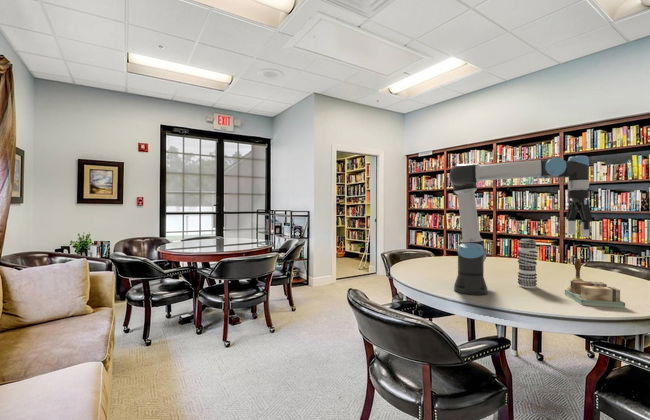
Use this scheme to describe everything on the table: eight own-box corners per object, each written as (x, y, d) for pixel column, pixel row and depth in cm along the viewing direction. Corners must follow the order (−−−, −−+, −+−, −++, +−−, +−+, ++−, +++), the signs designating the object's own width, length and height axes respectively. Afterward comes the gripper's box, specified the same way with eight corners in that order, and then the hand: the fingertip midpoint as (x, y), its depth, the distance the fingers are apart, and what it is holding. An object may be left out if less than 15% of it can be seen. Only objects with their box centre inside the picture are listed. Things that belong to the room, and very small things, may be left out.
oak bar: (585, 301, 136) (585, 287, 136) (580, 298, 140) (580, 285, 140) (620, 304, 132) (620, 289, 132) (613, 301, 137) (613, 287, 137)
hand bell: (592, 292, 155) (592, 260, 155) (573, 291, 156) (573, 259, 156) (582, 288, 163) (582, 257, 163) (564, 287, 165) (564, 257, 164)
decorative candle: (536, 285, 169) (536, 238, 169) (538, 289, 161) (538, 240, 161) (516, 283, 174) (516, 238, 173) (517, 287, 165) (517, 239, 165)
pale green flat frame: (581, 304, 135) (581, 299, 135) (564, 294, 152) (564, 289, 152) (625, 308, 131) (625, 302, 131) (602, 296, 147) (602, 292, 147)
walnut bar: (574, 295, 145) (574, 282, 145) (570, 293, 150) (570, 280, 150) (606, 297, 142) (606, 284, 142) (601, 295, 146) (601, 282, 146)
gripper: (602, 188, 133) (602, 238, 133) (575, 190, 157) (575, 233, 157) (581, 188, 135) (581, 237, 135) (558, 191, 159) (558, 233, 159)
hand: (578, 235), depth 146 cm, fingers open, 13 cm apart
